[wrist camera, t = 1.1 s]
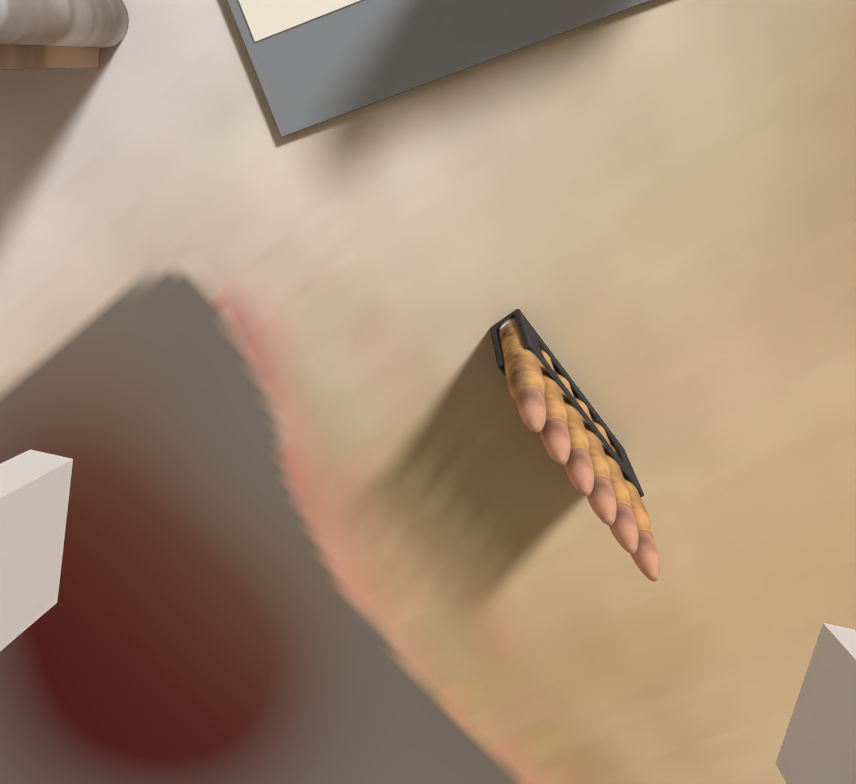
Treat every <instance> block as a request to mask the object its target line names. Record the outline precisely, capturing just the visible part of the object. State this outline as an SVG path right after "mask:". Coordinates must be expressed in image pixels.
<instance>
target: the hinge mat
mask: <svg viewBox="0 0 856 784" xmlns="http://www.w3.org/2000/svg"><path fill="white" fill-rule="evenodd" d="M227 1H228V3H229V6H230V8H231V11H232V13H233V16H234V18H235V21H236V23H237V26H238V28H239V31H240V33H241V36H242V38H243V41H244V43H245V46H246V48H247V51H248V54H249V56H250V59H251V61H252V64H253V66H254V69H255V71H256V74H257V76H258V79H259V81H260V84H261V86H262V89H263V91H264V94H265V96H266V99H267V101H268V104H269V106H270V109H271V111H272V114H273V116H274V119H275V121H276V124H277V126H278V129H279V131H280V134H281V136H282V137H283V136H285V135H288V134H291V133H293V132H296V131H299V130H301V129H304V128H307V127H309V126H312V125H315V124H318V123H320V122H323V121H326V120H328V119H331V118H334V117H336V116H339V115H342V114H345V113H347V112H350V111H353V110H355V109H358V108H361V107H363V106H366V105H369V104H371V103H374V102H377V101H380V100H382V99H385V98H388V97H390V96H393V95H396V94H398V93H401V92H404V91H407V90H409V89H412V88H415V87H417V86H420V85H423V84H425V83H428V82H431V81H433V80H436V79H439V78H442V77H444V76H447V75H450V74H452V73H455V72H458V71H460V70H463V69H466V68H469V67H471V66H474V65H477V64H479V63H482V62H485V61H487V60H490V59H493V58H495V57H498V56H501V55H504V54H506V53H509V52H512V51H514V50H517V49H520V48H522V47H525V46H528V45H531V44H533V43H536V42H539V41H541V40H544V39H547V38H549V37H552V36H555V35H558V34H560V33H563V32H566V31H568V30H571V29H574V28H576V27H579V26H582V25H584V24H587V23H590V22H593V21H595V20H598V19H601V18H603V17H606V16H609V15H611V14H614V13H617V12H620V11H622V10H625V9H628V8H630V7H633V6H636V5H638V4H641V3H644V2H646V1H649V0H227Z"/></svg>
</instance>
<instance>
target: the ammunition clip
mask: <svg viewBox="0 0 856 784" xmlns="http://www.w3.org/2000/svg"><path fill="white" fill-rule="evenodd" d="M490 330H491V335H492V339H493V344H494V349H495V354H496V359H497V364H498V367H499V368H500V370H501V371H502V372H503V374H504V375H505V376H506V378H507V384H508V388H509V392H510V395H511V396H512V398H513V399H514V400H515V403H516V406H517V409H518V412H519V415H520V417H521V420H522V421H523V423H524V424H525V425H526V427H527V428H528V429H529V430H531V431H532V432H535V433H538V432H539V434H540V437H541V439H542V442H543V445H544V447H545V449H546V451H547V453H548V454H549V456H550V457H551V458H552V459H553V460H554V461H555V462H556V463H558V464H560V465H563V466H564V467H565V470H566V473H567V476H568V478H569V480H570V482H571V483H572V484H573V486H574V487H575V488H576V489H577V491H578V492H579V493H581V494H582V495H584V496H587V498H588V501H589V503H590V505H591V507H592V509H593V511H594V512H595V513H596V515H597V516H598V517H599V518H600V519H601V521H602V522H604V523H605V524H607V525H609V527H610V529H611V531H612V533H613V535H614V537H615V538H616V540H617V541H618V543H619V544H620V545H621V546H622V547H623V548H624V549H625V550H626V551H627V552H629V553H630V554H631V556H632V558H633V560H634V561H635V563H636V565H637V566H638V568H639V569H640V570H641V571H642V573H643V574H644V575H645V576H646V577H647V578H648V579H650V580H652V581H657V579H658V577H659V572H660V563H659V557H658V552H657V548H656V545H655V542H654V539H653V535H652V532H651V529H650V521H649V517H648V514H647V511H646V509H645V507H644V504H643V502H642V499H641V497H643V496H644V493H643V491H642V489H641V486H640V484H639V482H638V480H637V477H636V475H635V473H634V470H633V468H632V466H631V463H630V461H629V459H628V457H627V454H626V452H625V450H624V448H623V447H622V446H621V444H620V443H619V442H618V440H617V439H616V438H615V436H614V435H613V434H612V432H611V431H610V430H609V428H608V427H607V426H606V424H605V423H604V422H603V420H602V419H601V418H600V416H599V415H598V414H597V412H596V411H595V410H594V408H593V407H592V406H591V404H590V403H589V402H588V400H587V399H586V398H585V396H584V395H583V394H582V392H581V391H580V390H579V388H578V387H577V386H576V384H575V383H574V382H573V380H572V379H571V378H570V376H569V375H568V374H567V372H566V371H565V370H564V368H563V367H562V366H561V364H560V363H559V362H558V360H557V359H556V358H555V356H554V355H553V354H552V352H551V351H550V350H549V348H548V347H547V346H546V344H545V343H544V342H543V340H542V339H541V338H540V336H539V335H538V334H537V332H536V331H535V330H534V328H533V327H532V326H531V324H530V323H529V322H528V320H527V319H526V318H525V316H524V315H523V314H522V312H521V311H520V310H519V309H516V310H515V311H513V312H512V313H511V314H509V315H508V316H506V317H505V318H503V319H502V320H501V321H499V322H498V323H496V324H495V325H494V326H492V327H491V329H490Z"/></svg>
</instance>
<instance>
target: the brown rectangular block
mask: <svg viewBox="0 0 856 784" xmlns="http://www.w3.org/2000/svg"><path fill="white" fill-rule="evenodd" d="M128 23H129V22H128V13H127V10H126V7H125V5H124V3H123V1H122V0H0V69H51V68H99V52H100V47H102V48H107V47H112V46H114V45H116V44H118V43H119V42H120V41H121V40H122V39H123V38H124V37H125V35H126V32H127V29H128Z"/></svg>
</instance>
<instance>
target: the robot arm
mask: <svg viewBox="0 0 856 784" xmlns="http://www.w3.org/2000/svg"><path fill="white" fill-rule="evenodd" d="M72 463H73V459H71V458H66V457H61V456H57V455H53V454H48V453H43V452H39V451H34V450H29V451H26V452H25V453H22V454H20V455H18V456H16V457H14V458H12V459H10V460H7V461H5V462H3V463H1V464H0V651H1V650H2V649H3V648H5V647H6V646H7V645H8V644H9V643H10V642H11V641H13V640H14V639H15V638H16V637H17V636H19V635H20V634H21V633H22V632H23V631H24V630H26V629H27V628H28V627H29V626H30V625H31V624H32V623H34V622H35V621H36V620H37V619H38V618H39V617H40V616H42V615H43V614H44V613H45V612H46V611H48V610H49V609H50V608H51V607H52V606H53V605H55V604H56V603H57V599H58V589H59V580H60V572H61V563H62V553H63V545H64V535H65V527H66V517H67V508H68V499H69V490H70V481H71V472H72ZM776 765H777V767H778V768H779V770H780V772H781V774H782V776H783V777H784V779H785V781H786V783H787V784H856V630H853V629H848V628H844V627H839V626H835V625H830V624H825V623H823V625H822V628H821V631H820V634H819V637H818V640H817V643H816V646H815V649H814V652H813V655H812V658H811V661H810V664H809V667H808V669H807V672H806V675H805V678H804V681H803V684H802V687H801V690H800V693H799V696H798V699H797V702H796V705H795V708H794V711H793V714H792V716H791V719H790V722H789V725H788V728H787V731H786V734H785V737H784V740H783V743H782V746H781V749H780V752H779V755H778V758H777V761H776Z"/></svg>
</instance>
